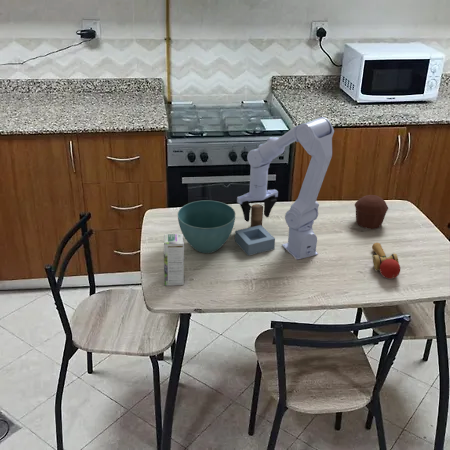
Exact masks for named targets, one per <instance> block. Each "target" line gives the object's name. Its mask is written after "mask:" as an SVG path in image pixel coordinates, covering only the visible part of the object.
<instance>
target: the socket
mask: <svg viewBox="0 0 450 450" xmlns="http://www.w3.org/2000/svg"><path fill="white" fill-rule="evenodd" d="M234 242H235V243H236V244H237V246H239V248H240V249H241V250H242V251H243V252H244V253H245V254H246V255H247V256H252V255H256V254H260V253H264V252H265V253H266V252H268V251H272V250H275V245H276V238H275V237H274V236H273V235H272V234H271V233H270V232H269V230H267V229H266V228H265V227H263V225H262V226H261V225H259V226H254V227H251V226H250V227H245V228H241V229H238V230H237V229H236V230H235V231H234Z"/></svg>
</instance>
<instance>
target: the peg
mask: <svg viewBox="0 0 450 450" xmlns="http://www.w3.org/2000/svg"><path fill="white" fill-rule="evenodd" d="M250 206H251V210H250V227H254V226H259V225H261V226H263V221H264V220H263V218H264V205H262V204H258V203H257V204H256V203H255V204H253V205H250Z"/></svg>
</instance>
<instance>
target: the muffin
mask: <svg viewBox="0 0 450 450" xmlns="http://www.w3.org/2000/svg"><path fill="white" fill-rule="evenodd" d="M354 207H355V221H356V223H357V226H360V227H362V228H363V229H369V230H375V229H380V227H381V226H382V225H383V223H384V220H385V216H386V214H387V212H388V210H389V207H388V205H387V202H386V201H385V200H384V198H382V197H381V196H378V195H375V194H367V195H364V196H362V197H360V198H359V199H357V201H356V202H355V203H354Z"/></svg>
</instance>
